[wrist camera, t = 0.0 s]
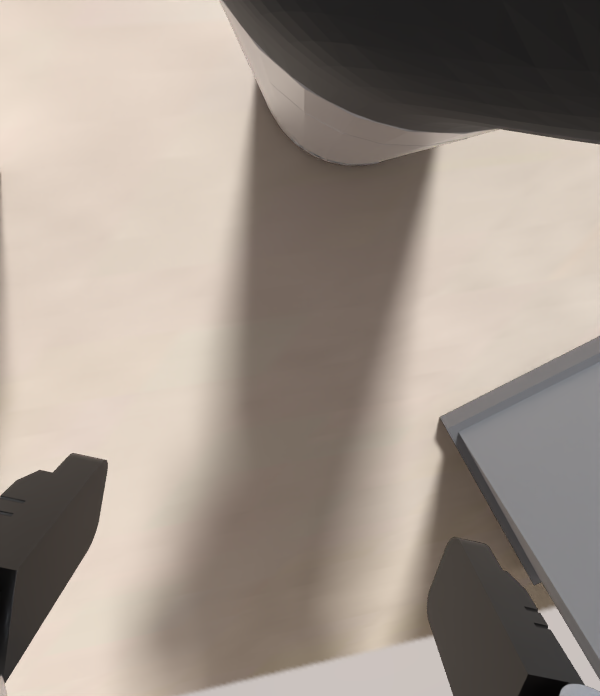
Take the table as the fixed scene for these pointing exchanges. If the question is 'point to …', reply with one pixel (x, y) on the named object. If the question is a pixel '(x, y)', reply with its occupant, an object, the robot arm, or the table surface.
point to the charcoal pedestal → (545, 478)
